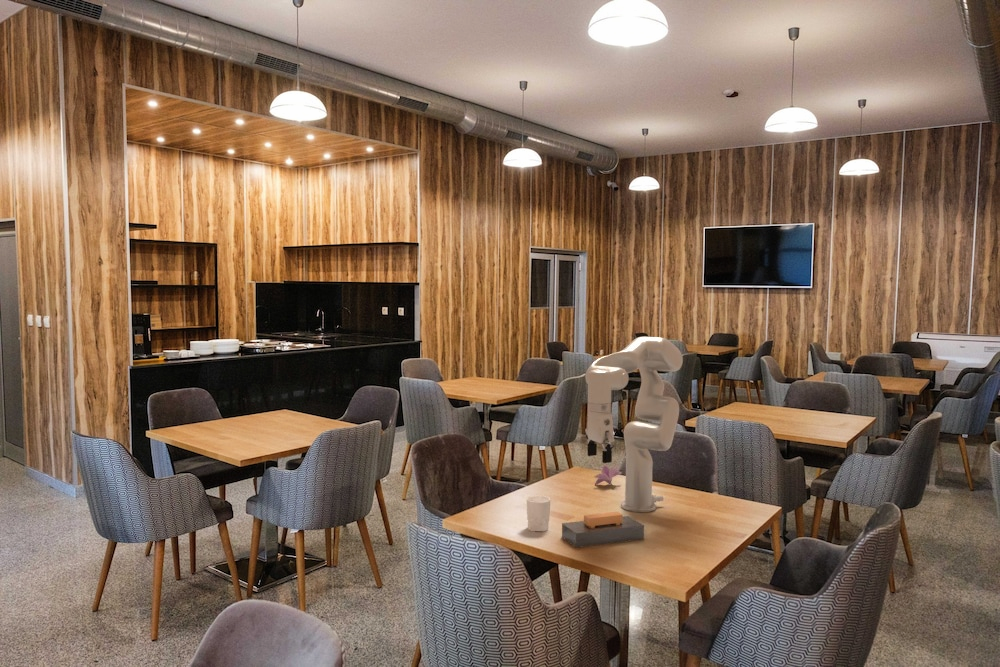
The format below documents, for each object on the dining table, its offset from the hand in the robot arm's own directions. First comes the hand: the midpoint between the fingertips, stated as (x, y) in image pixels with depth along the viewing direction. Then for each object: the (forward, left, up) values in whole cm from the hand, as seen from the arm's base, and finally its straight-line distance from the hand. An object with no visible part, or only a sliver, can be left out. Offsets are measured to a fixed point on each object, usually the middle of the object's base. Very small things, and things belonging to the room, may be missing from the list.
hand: (599, 459), depth 232 cm
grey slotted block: (+2, +8, -24) cm, 25 cm away
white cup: (+18, -7, -24) cm, 31 cm away
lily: (-29, -46, -24) cm, 59 cm away
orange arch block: (+2, +8, -24) cm, 25 cm away
